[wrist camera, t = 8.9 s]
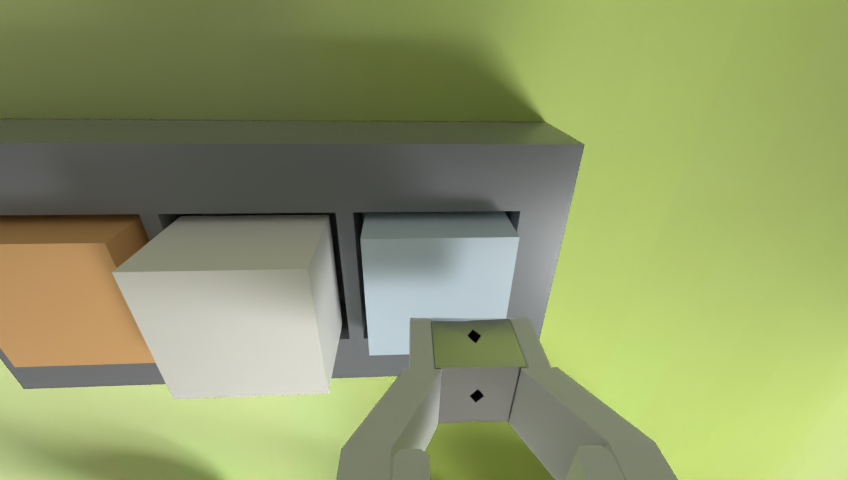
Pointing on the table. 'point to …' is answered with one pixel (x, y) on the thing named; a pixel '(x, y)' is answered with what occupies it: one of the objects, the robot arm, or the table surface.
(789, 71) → the table surface
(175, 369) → the white key
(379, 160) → the keypad
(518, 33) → the table surface
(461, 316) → the blue key
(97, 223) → the orange key
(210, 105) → the table surface
